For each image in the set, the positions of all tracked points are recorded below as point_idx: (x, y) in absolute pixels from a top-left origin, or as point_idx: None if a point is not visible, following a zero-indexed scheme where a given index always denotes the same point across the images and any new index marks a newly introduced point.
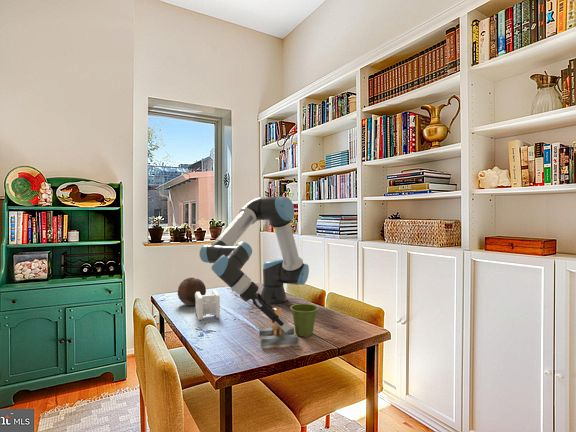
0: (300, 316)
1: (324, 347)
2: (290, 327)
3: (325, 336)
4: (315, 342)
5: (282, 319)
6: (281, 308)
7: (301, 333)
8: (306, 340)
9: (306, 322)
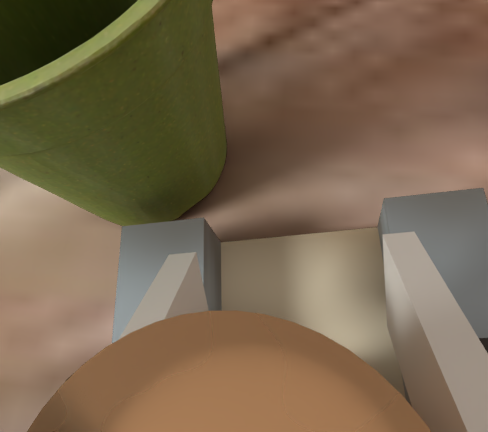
0: (187, 39)
1: (471, 28)
2: (416, 236)
3: (237, 17)
4: (359, 84)
5: (458, 354)
6: (224, 326)
7: (215, 167)
8: (308, 148)
9: (213, 41)
